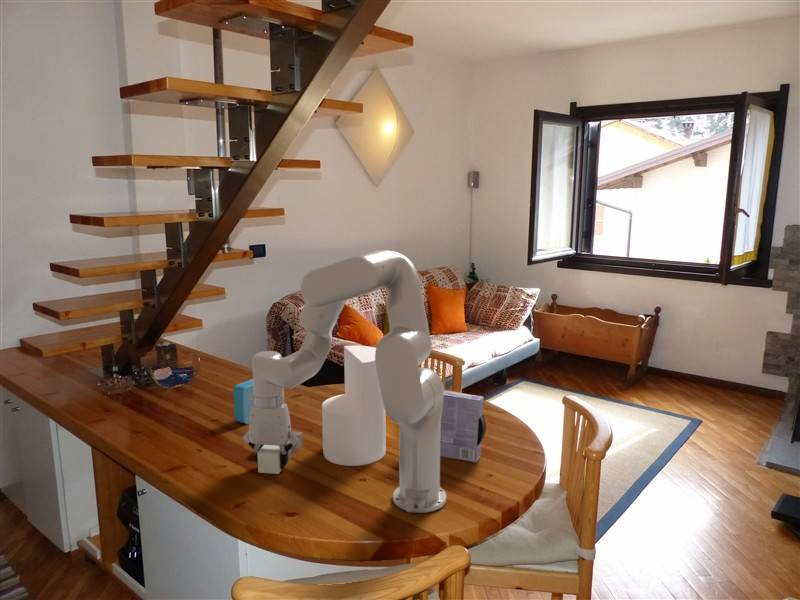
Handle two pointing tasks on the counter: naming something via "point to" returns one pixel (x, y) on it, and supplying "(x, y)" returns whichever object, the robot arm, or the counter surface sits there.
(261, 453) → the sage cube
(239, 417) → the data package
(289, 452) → the pinkish brown square block
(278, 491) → the counter surface
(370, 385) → the white bottle-shaped block
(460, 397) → the cake pan box
